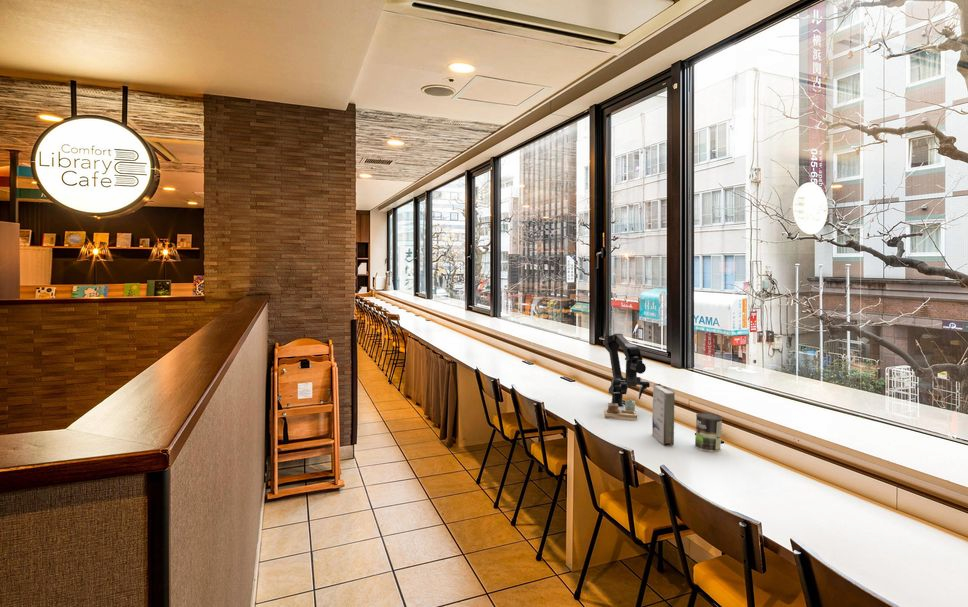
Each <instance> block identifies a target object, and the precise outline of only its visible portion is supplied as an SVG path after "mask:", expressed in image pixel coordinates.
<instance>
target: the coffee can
mask: <svg viewBox="0 0 968 607" xmlns="http://www.w3.org/2000/svg"><path fill="white" fill-rule="evenodd" d="M722 424H723V416H721V415H719V414H718V413H712V412H698V413H696V421H695V442H694V447H695V448H696V449H697V450H699V451H702V452H709V453H717V452H721V446H722V445H721V442H722V427H723V426H722Z"/></svg>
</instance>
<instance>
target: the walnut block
mask: <svg viewBox="0 0 968 607" xmlns="http://www.w3.org/2000/svg"><path fill="white" fill-rule="evenodd" d="M607 409H608V413H614V414H618V410H619V406H618V404H616V403H611V402H608V403H607Z"/></svg>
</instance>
